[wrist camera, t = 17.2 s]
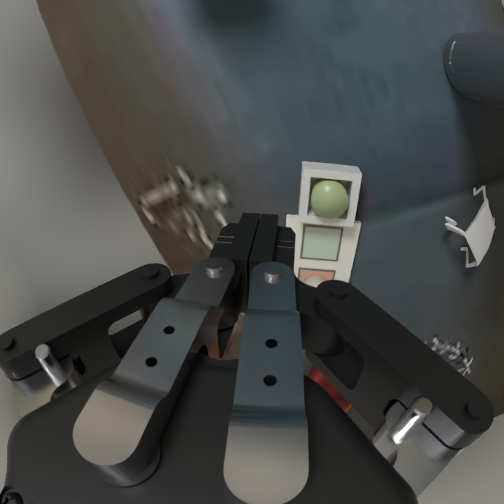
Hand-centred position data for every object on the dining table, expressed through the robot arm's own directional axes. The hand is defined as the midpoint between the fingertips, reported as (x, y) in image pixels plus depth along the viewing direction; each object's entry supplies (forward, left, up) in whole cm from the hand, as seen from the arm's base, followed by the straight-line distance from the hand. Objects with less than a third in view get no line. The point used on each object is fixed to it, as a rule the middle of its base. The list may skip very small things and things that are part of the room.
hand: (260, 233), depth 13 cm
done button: (-6, +8, -25) cm, 27 cm away
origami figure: (-28, +10, -27) cm, 40 cm away
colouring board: (-6, +19, -26) cm, 33 cm away
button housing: (-6, +8, -26) cm, 28 cm away
